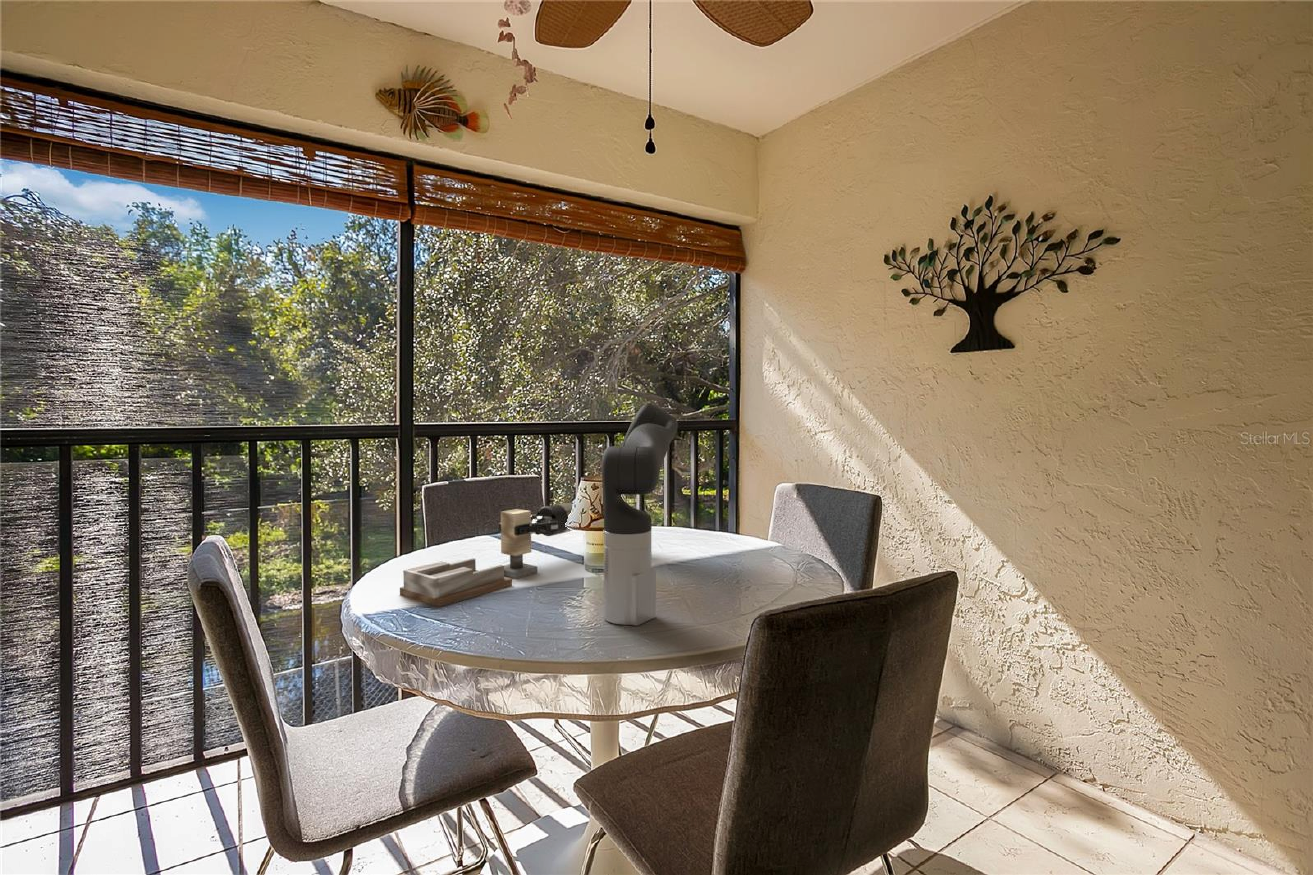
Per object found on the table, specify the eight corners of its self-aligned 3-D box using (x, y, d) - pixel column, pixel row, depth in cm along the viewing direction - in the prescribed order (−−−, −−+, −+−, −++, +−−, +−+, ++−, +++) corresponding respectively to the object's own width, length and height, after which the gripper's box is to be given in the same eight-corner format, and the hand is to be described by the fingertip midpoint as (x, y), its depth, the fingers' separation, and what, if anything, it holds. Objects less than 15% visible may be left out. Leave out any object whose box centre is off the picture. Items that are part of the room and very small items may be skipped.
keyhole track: (512, 585, 150) (511, 561, 149) (439, 607, 134) (438, 580, 134) (472, 575, 158) (472, 552, 158) (399, 594, 143) (399, 569, 142)
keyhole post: (537, 572, 160) (536, 510, 160) (515, 578, 155) (514, 515, 154) (517, 567, 165) (517, 507, 164) (495, 574, 159) (494, 511, 158)
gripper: (539, 501, 175) (487, 510, 161) (579, 507, 166) (528, 517, 152) (539, 529, 175) (487, 541, 161) (579, 537, 166) (528, 549, 153)
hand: (507, 529), depth 157 cm, fingers closed on keyhole post, 5 cm apart
